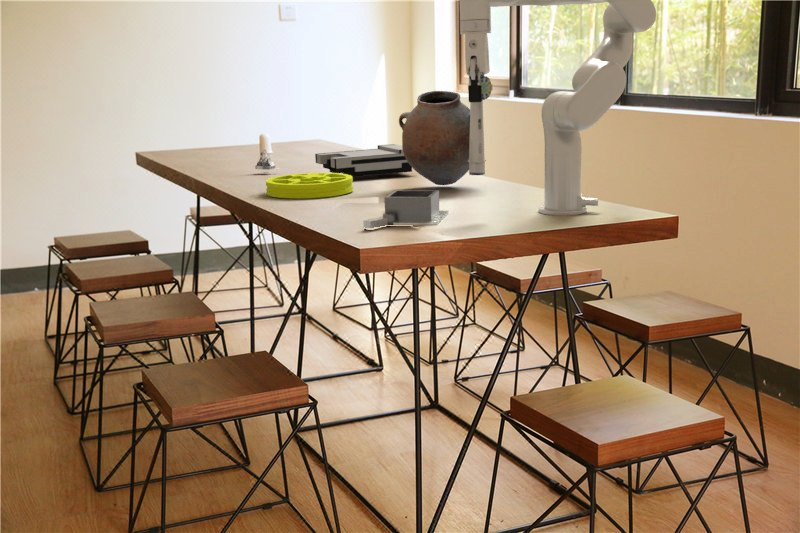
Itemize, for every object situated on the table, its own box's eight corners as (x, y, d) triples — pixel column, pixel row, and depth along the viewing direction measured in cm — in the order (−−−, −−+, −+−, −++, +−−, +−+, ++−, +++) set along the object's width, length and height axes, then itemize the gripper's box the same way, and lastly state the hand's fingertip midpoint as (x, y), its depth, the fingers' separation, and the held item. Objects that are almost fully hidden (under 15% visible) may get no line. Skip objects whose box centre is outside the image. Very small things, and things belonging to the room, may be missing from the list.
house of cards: (286, 167, 370) (285, 147, 368) (273, 170, 362) (272, 149, 361) (268, 166, 374) (266, 146, 372) (254, 169, 366) (253, 149, 365)
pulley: (344, 183, 322) (343, 168, 321) (360, 194, 296) (360, 178, 294) (262, 188, 316) (261, 173, 314) (271, 200, 289) (270, 184, 288)
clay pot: (402, 192, 295) (399, 94, 288) (400, 181, 319) (397, 90, 312) (485, 189, 295) (484, 91, 288) (477, 178, 320) (475, 88, 313)
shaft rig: (452, 210, 260) (451, 185, 259) (433, 231, 232) (432, 203, 230) (389, 210, 264) (388, 185, 262) (362, 230, 236) (361, 203, 234)
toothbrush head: (481, 172, 246) (479, 74, 241) (494, 175, 240) (493, 74, 235) (463, 174, 244) (461, 75, 238) (476, 176, 238) (475, 75, 232)
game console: (316, 172, 350) (315, 150, 348) (394, 165, 363) (393, 144, 362) (336, 179, 332) (335, 155, 330) (418, 171, 345) (418, 148, 343)
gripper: (486, 26, 224) (488, 103, 228) (494, 27, 241) (496, 98, 245) (455, 28, 226) (457, 104, 230) (465, 28, 242) (467, 99, 246)
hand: (477, 100), depth 237 cm, fingers closed on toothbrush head, 6 cm apart
